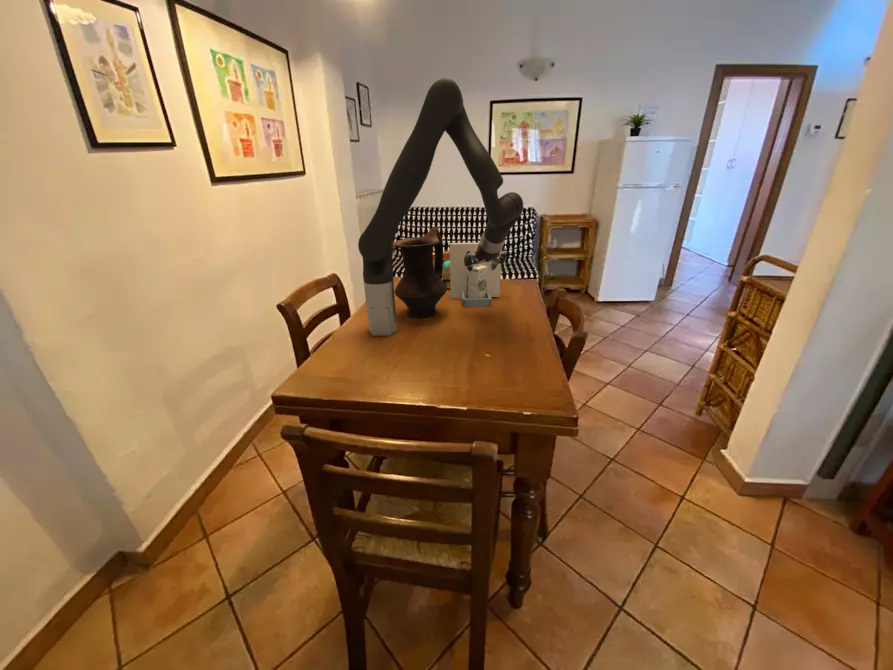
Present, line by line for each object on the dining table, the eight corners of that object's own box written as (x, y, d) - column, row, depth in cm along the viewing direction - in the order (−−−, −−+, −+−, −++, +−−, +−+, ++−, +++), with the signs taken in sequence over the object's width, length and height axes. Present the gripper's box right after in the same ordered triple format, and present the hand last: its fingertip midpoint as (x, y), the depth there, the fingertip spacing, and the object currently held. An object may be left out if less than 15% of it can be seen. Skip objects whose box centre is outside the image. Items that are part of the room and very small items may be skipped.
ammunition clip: (442, 290, 161) (441, 263, 156) (442, 289, 163) (442, 262, 158) (466, 291, 160) (466, 264, 154) (467, 290, 161) (467, 262, 156)
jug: (424, 329, 124) (420, 238, 111) (385, 317, 134) (378, 232, 121) (461, 310, 139) (461, 228, 126) (423, 301, 149) (420, 224, 137)
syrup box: (474, 298, 151) (475, 263, 145) (486, 301, 148) (487, 265, 141) (466, 302, 147) (466, 266, 141) (477, 305, 144) (478, 268, 138)
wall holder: (503, 306, 143) (506, 248, 133) (451, 307, 143) (450, 249, 133) (498, 296, 153) (501, 242, 144) (450, 296, 153) (449, 243, 144)
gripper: (510, 232, 123) (497, 258, 138) (468, 234, 120) (460, 260, 135) (514, 251, 120) (501, 276, 135) (472, 254, 118) (463, 278, 133)
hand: (480, 268), depth 135 cm, fingers open, 8 cm apart
